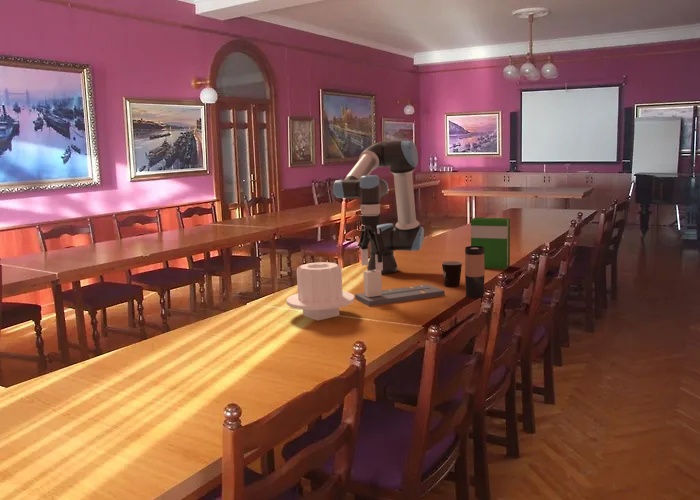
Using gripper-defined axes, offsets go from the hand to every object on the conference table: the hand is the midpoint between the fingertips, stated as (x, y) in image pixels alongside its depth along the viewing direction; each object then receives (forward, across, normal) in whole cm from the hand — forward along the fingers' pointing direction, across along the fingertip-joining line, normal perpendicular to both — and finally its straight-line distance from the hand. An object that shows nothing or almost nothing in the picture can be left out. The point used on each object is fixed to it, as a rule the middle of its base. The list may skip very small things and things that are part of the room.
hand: (372, 267), depth 248 cm
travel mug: (+14, +14, +39) cm, 44 cm away
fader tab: (+11, 0, 0) cm, 11 cm away
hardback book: (+13, -32, +79) cm, 87 cm away
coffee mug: (+13, -8, +42) cm, 45 cm away
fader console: (+14, 0, +12) cm, 18 cm away
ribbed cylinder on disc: (+14, +10, -26) cm, 31 cm away
